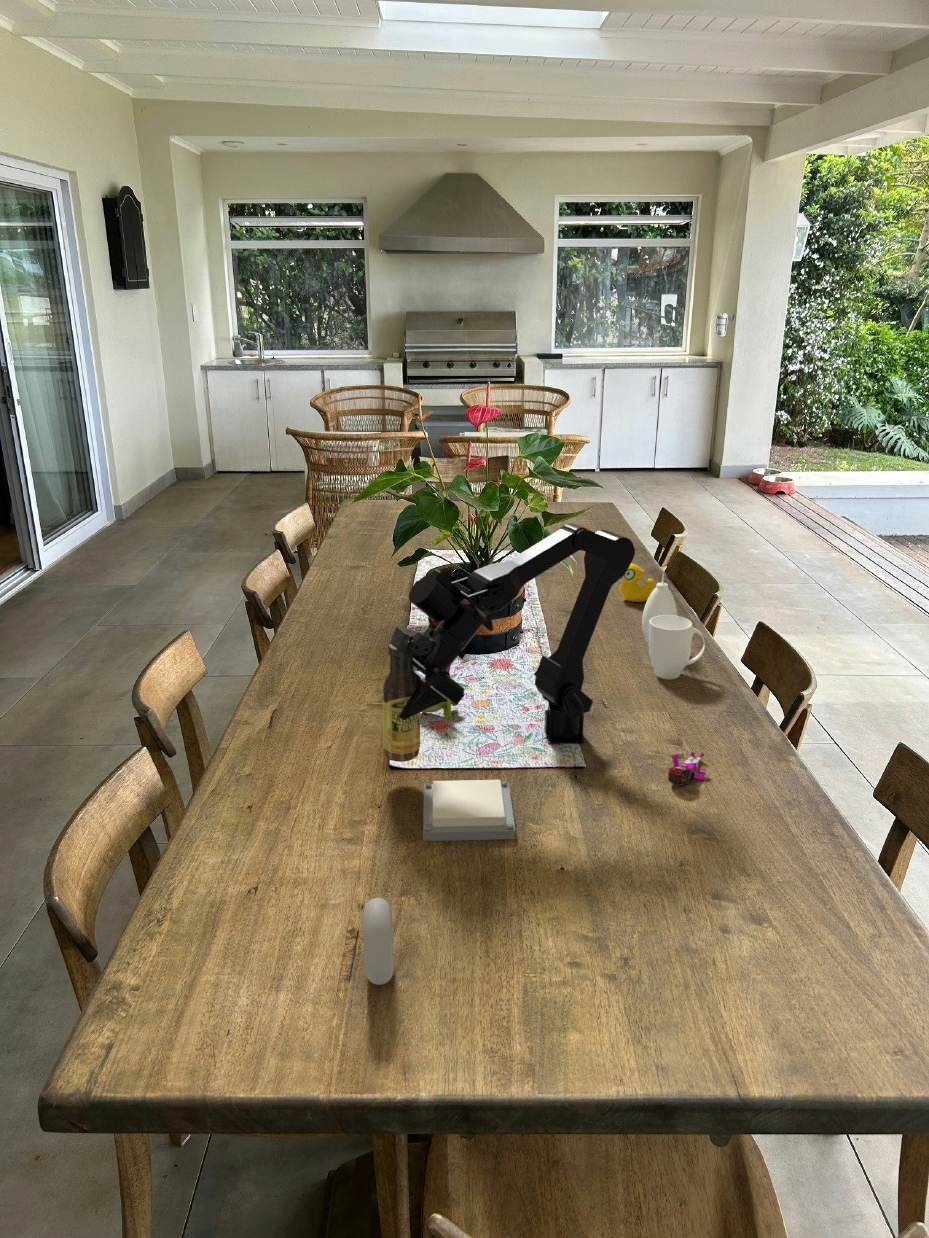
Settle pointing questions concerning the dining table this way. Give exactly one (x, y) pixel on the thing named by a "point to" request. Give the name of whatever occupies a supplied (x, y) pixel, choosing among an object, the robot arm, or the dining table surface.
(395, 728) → the sauce bottle
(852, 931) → the dining table surface
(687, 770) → the character figurine
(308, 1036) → the dining table surface
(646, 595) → the duckling
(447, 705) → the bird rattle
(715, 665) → the dining table surface
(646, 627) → the sauce bottle
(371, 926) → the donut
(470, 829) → the tower base
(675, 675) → the mug
